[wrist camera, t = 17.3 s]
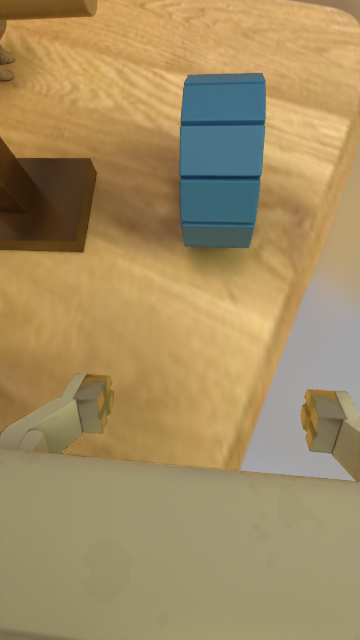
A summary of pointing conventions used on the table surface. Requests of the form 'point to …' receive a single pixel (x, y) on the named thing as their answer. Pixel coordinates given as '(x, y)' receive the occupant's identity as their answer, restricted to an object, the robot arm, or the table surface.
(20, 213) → the rack
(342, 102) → the table surface
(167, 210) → the table surface
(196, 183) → the blue segmented wheel
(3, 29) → the toy
